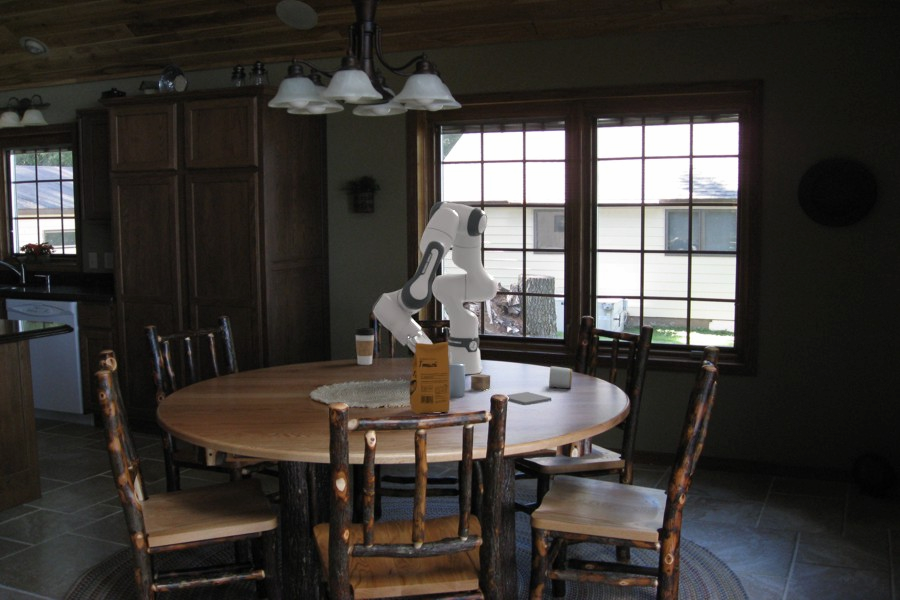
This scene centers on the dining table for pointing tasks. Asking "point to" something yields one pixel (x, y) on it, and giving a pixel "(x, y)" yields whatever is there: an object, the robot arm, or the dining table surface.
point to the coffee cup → (364, 345)
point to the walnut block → (480, 382)
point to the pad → (527, 398)
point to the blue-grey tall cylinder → (457, 380)
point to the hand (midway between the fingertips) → (437, 362)
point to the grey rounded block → (560, 377)
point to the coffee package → (430, 379)
